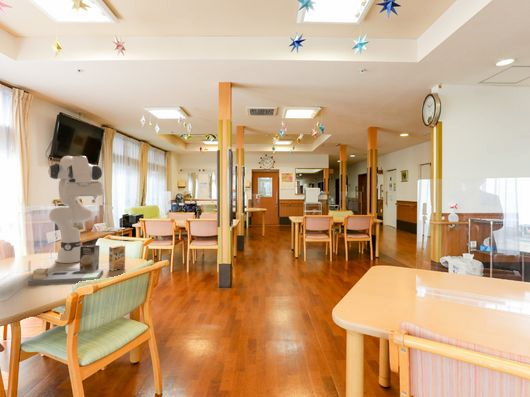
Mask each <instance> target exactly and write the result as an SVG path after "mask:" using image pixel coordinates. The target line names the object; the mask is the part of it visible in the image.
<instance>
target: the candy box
mask: <svg viewBox="0 0 530 397" xmlns="http://www.w3.org/2000/svg"><path fill="white" fill-rule="evenodd" d="M108 250H109V251H108V271H110V270H111V272H114V270H115V271H118V270H117V269H120V270H123V269H122V268H125V269H126V245H123V244H122V245H116V246H109V247H108Z"/></svg>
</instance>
